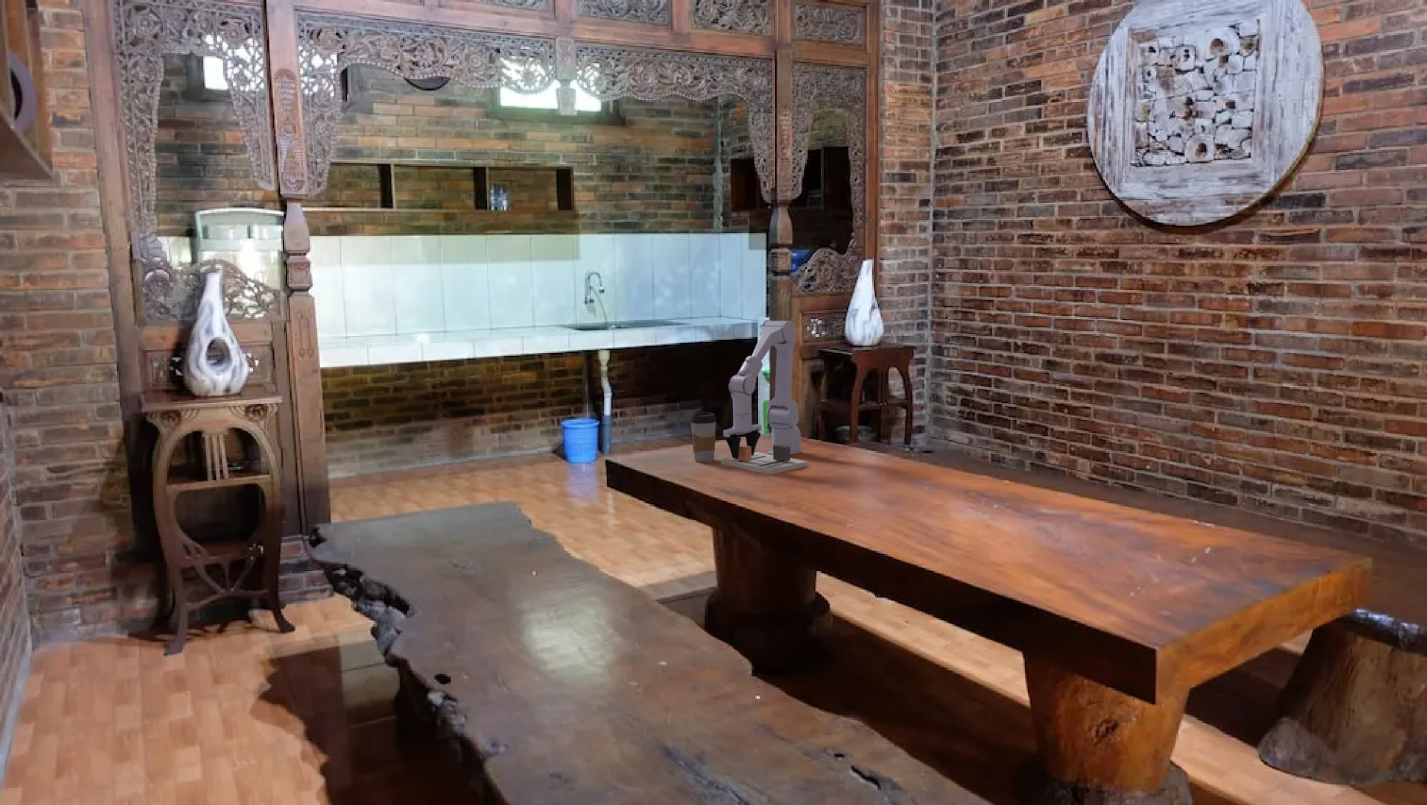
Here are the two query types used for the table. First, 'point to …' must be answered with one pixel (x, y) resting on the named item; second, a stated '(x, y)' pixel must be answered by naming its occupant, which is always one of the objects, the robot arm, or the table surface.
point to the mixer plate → (764, 463)
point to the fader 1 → (744, 453)
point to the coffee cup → (703, 436)
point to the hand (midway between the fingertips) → (743, 456)
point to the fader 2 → (781, 453)
